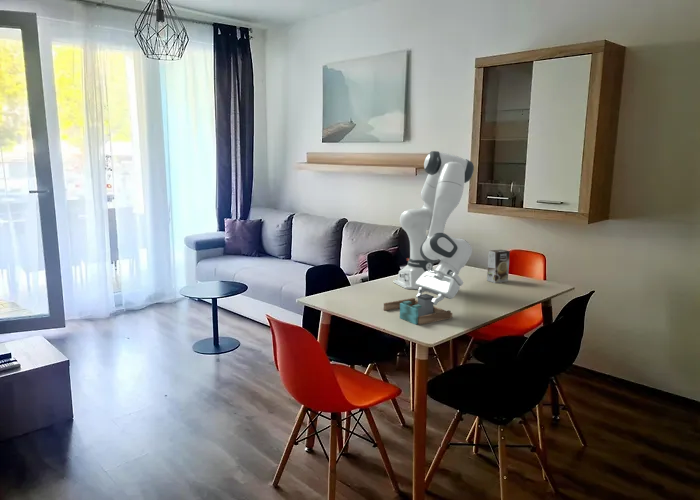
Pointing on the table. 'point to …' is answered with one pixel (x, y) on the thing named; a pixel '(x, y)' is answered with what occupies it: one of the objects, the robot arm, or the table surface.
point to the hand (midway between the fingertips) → (425, 300)
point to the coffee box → (498, 266)
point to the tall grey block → (425, 304)
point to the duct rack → (416, 311)
